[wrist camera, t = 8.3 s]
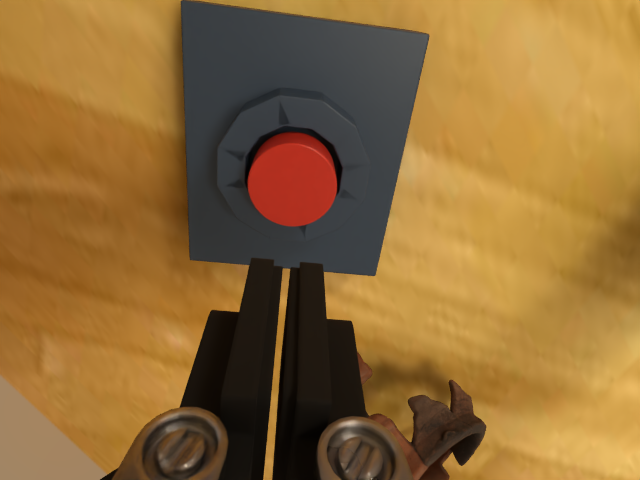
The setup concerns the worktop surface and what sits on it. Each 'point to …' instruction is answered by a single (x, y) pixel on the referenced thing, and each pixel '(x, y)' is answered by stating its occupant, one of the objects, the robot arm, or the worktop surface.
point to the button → (292, 179)
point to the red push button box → (293, 128)
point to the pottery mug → (435, 431)
